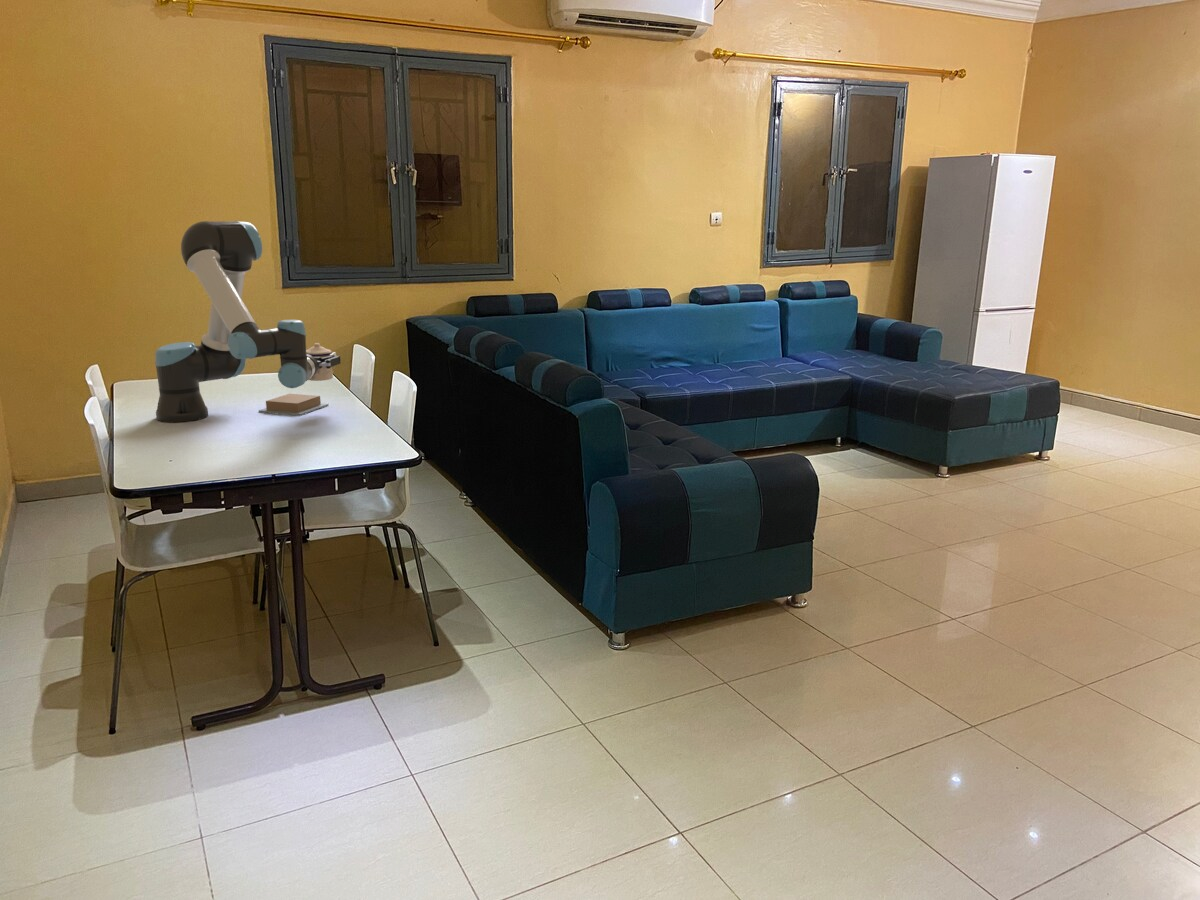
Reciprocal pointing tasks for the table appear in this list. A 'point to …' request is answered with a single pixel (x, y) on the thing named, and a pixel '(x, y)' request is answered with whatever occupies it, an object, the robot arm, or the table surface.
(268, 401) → the build base
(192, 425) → the table surface
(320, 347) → the teacup with lid
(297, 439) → the table surface
